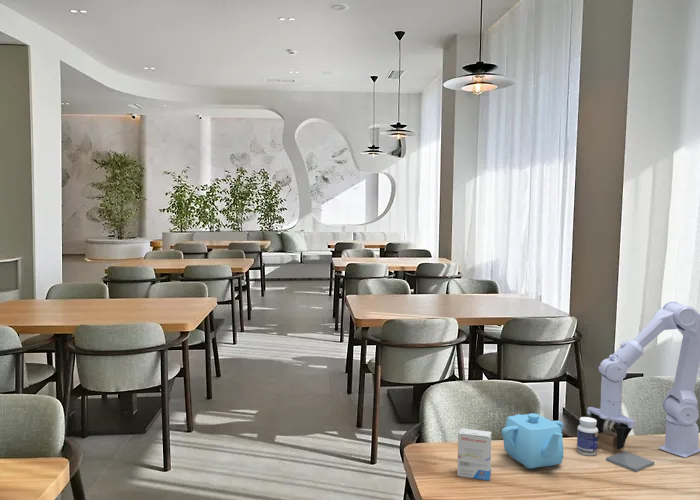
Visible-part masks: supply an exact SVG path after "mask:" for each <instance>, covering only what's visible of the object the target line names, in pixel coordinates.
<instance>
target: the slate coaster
mask: <svg viewBox="0 0 700 500" xmlns="http://www.w3.org/2000/svg"><path fill="white" fill-rule="evenodd" d="M605 461H607V462H609V463H612V464H614V465H617V466H620V467H622V468H624V467H625V469H627V470H630V471H632V472H634V471H635V473H637V472H640V471H641V470H645V469H647V468H650V467H651V466H655V461H653V460H651V459H648V458H645V457H642V456H639V455H638V454H637V455H636V454H634V453H632V452H628V451H626V450H623V451H620V452H617V453H615V454H613V455H610V456H607V457H606V458H605ZM649 466H650V467H649ZM646 467H647V468H646ZM644 468H645V469H644Z"/></svg>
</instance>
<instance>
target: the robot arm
mask: <svg viewBox="0 0 700 500" xmlns="http://www.w3.org/2000/svg"><path fill="white" fill-rule="evenodd" d="M667 330H668V331H669V330H678V332H679V333H680V334H681V335H682V340H681V344H680V351H679V355H678V360H677V361H678V362H677V366H676V371H675V376H674V381H673V386H672V387H671V388H669V389H668V391H667V395H666V397H665V398H664V400H663V401H662V410H663V411H664V412H665V413H666V417H665V431H664V432H665V433H664V436H665V437H664V444H663V445H661V446H658V449H659V450H661V451H665V452H667V453H670V454H673V455H676V456H679V457H681V458H685V459H686V458H688V457H691V456H693V455H695V454H698V453H700V448H699V440H700V434H699V433H700V428H699V426H698V424H697V423H696V422H697V421H698V419H699V417H700V416H699V409H698V403H699V402H698V399H697V397H696V394H695V389H696V383H697V378H698V374H699V367H700V313H699V312H698V310H696V309H695V308H694V307H693V306H691V305H684V304H682V303H679V302H677V301H669V302H667V303H665V304H664V305H663V306H662V308H660V309H658V310H657V312H656V313H655V316H654V317H653V318H652V319H651V320H650V321H649V322H648V323H647V325H646V326H644V328H643V329H642V330H641V331H640V332H639V333H638V334H637V336H635V337H634V339H632V340H629V339H627V340H626V341H622V342H621V343H620V344H619V345H620V347H619V348H618V349H616V350H615V351H614V353H612V354H610V355H609V356H608V357H607V358H604V359H603V360H602V361H601V362H600V364H599V365H598V366H597V367H598V371H599V374H601V383H600V408H596V407H593V406H589V407H587V408H586V409H587V410H586V413H587V415H590V416H589V417H590V418H594V419H596V420H597V425H596V427H597V429H598V436H599V433H602V432H604V426H605V425H604V424H605V421H607V420H608V421H611V422H614V423H616V424H618V425H615V427H614V428H615V433H616V434H617V448H618V449H621V450H622V449H624V447H625V444H626V440H627V438H628V437H629V434H630V433H631V431H632V429H634V428H636V420H634V419H632V418H629V417H627V416H625V415H623V414H622V401H623V400H622V398H623V396H622V395H623V379H625V378H626V376H627V371H628V369H630V368H631V367H632V366H633V364H635V363H636V362H637V360H639V359H640V358H641V357H642V356H643V355H644V348H645V347H646V346H647V345H649V344H650V343H651V342H652V341H653V340H654V339H655V338H657V337H658V336H659V335H661V333H663V331H667Z"/></svg>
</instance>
